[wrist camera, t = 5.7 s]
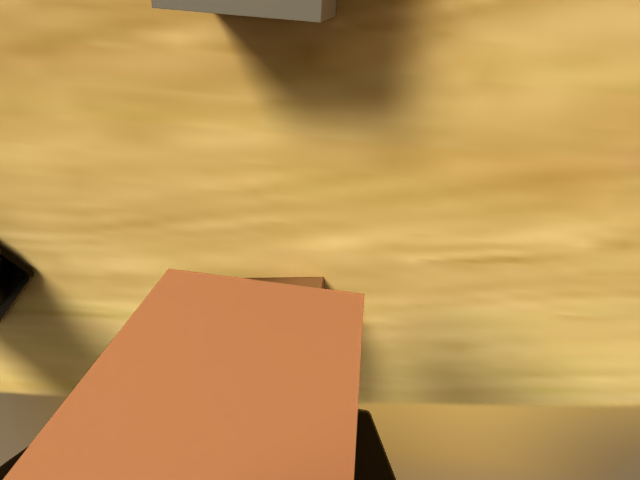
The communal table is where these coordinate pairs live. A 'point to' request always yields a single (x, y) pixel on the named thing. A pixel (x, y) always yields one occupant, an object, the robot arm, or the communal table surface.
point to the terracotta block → (214, 389)
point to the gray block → (258, 8)
